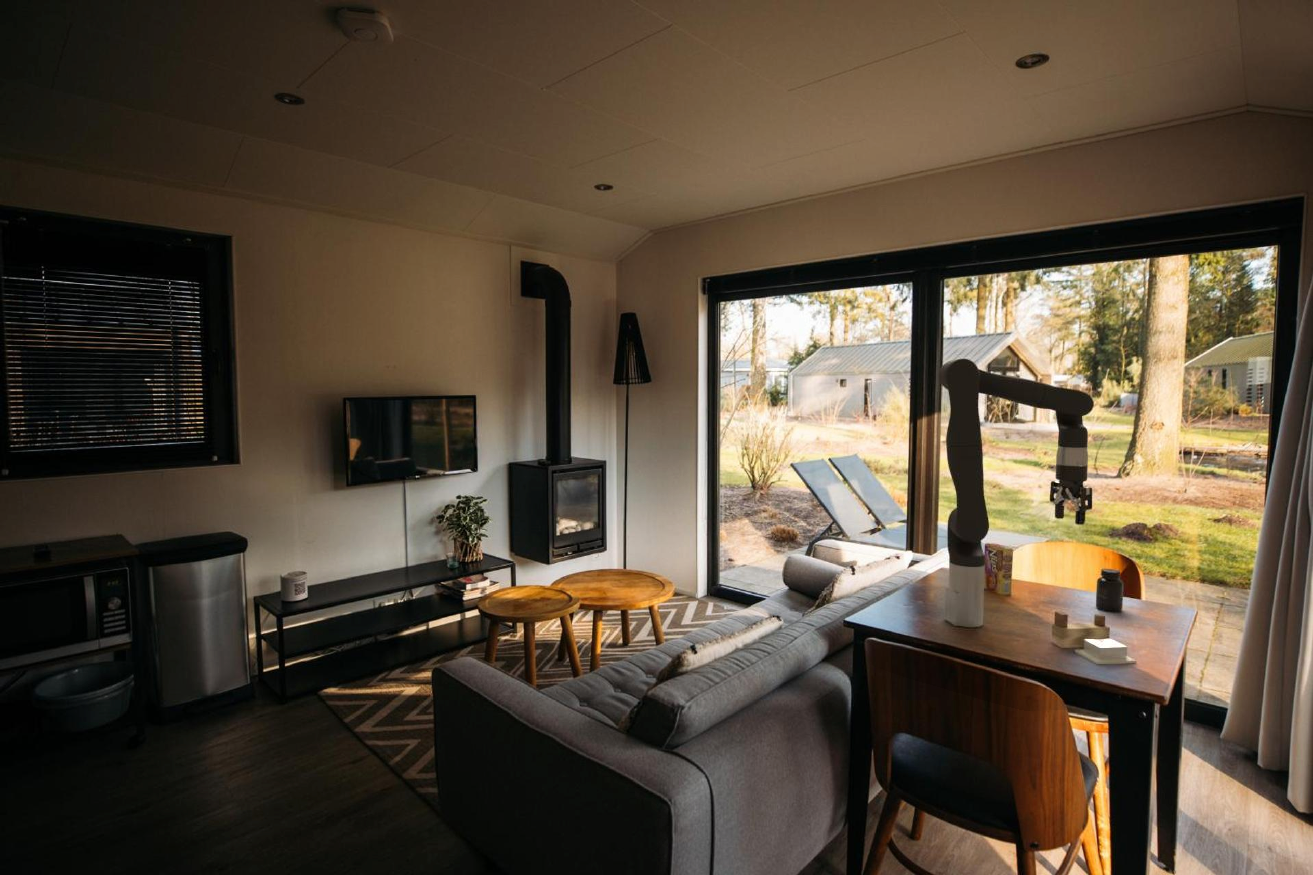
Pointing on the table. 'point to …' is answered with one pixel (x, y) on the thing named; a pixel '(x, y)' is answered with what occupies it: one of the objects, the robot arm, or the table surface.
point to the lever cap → (1105, 649)
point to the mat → (1105, 661)
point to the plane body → (1077, 631)
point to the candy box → (998, 568)
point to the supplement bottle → (1109, 591)
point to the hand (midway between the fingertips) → (1069, 521)
